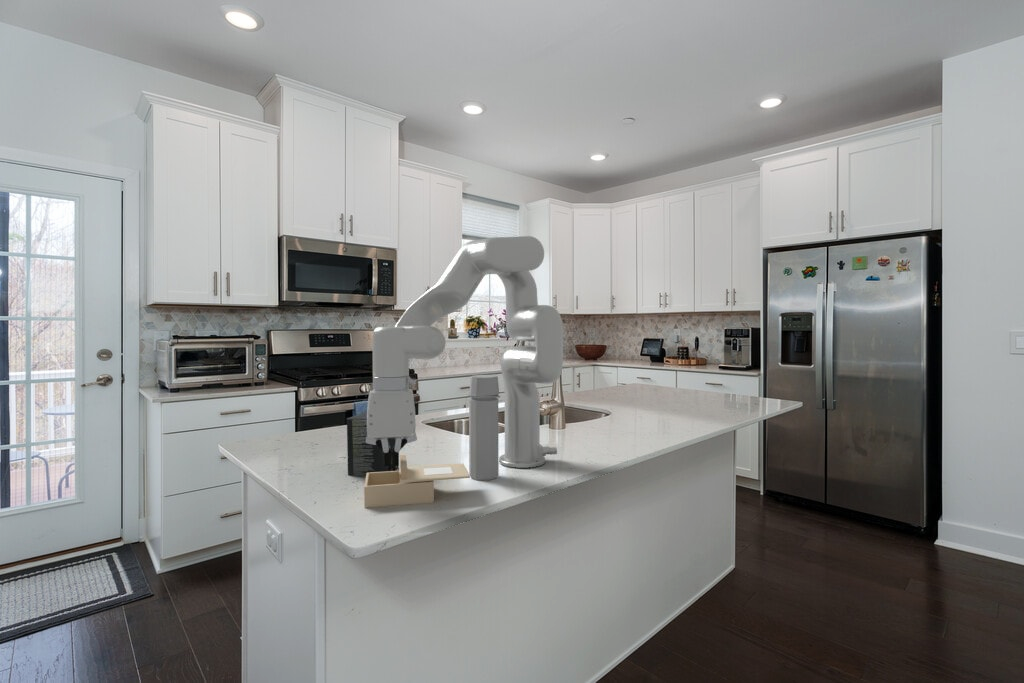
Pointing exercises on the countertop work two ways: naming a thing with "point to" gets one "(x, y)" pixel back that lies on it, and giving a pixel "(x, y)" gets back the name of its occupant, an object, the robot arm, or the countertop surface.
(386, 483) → the mailer box
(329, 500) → the countertop surface
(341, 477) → the countertop surface
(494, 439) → the water bottle
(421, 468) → the lid
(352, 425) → the tampon box
